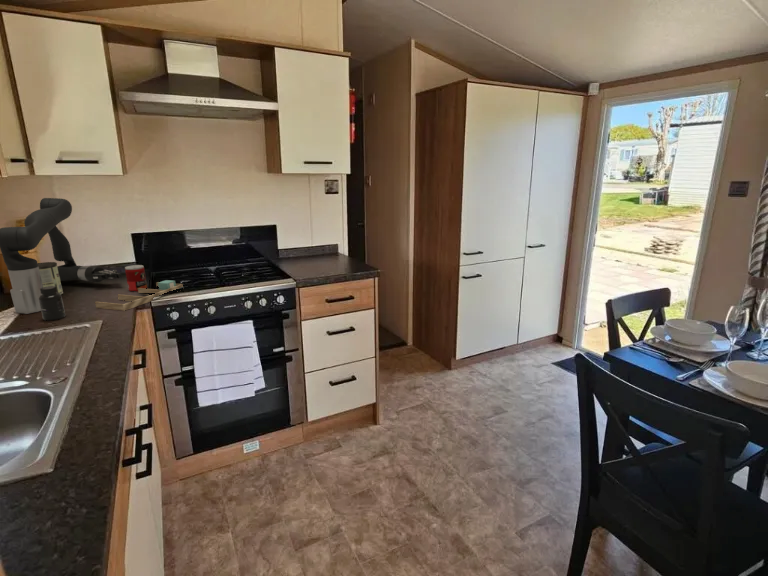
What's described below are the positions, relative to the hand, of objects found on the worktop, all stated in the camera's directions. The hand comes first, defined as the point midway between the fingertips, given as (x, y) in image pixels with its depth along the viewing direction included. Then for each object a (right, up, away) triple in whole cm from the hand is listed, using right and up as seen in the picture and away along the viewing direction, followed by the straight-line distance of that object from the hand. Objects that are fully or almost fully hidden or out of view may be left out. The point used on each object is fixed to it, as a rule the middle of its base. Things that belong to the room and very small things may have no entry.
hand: (119, 275), depth 197 cm
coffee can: (-26, -9, -9) cm, 29 cm away
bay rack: (+19, -10, -14) cm, 26 cm away
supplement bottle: (0, -17, -39) cm, 43 cm away
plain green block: (+26, -8, -5) cm, 27 cm away
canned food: (+9, -7, -1) cm, 11 cm away
